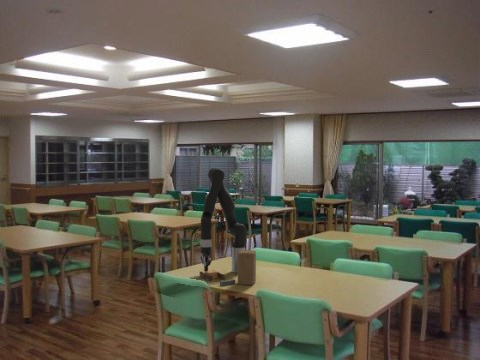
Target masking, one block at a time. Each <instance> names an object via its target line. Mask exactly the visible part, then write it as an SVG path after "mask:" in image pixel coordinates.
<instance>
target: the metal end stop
mask: <svg viewBox="0 0 480 360" xmlns="http://www.w3.org/2000/svg"><path fill="white" fill-rule="evenodd" d="M235 284H236V279H228V280H221V281H219V286H220V287H224V286H232V285H235Z"/></svg>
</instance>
